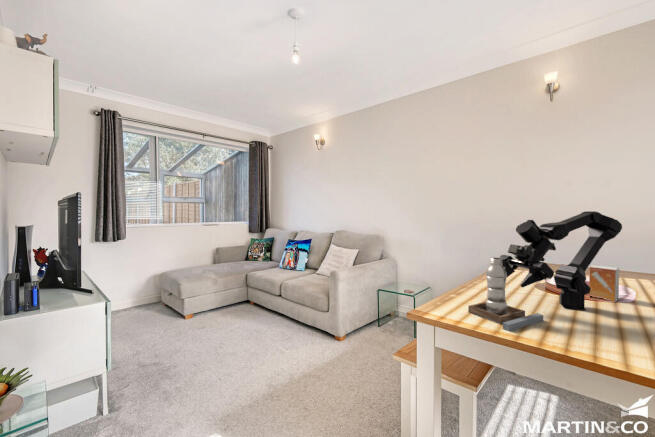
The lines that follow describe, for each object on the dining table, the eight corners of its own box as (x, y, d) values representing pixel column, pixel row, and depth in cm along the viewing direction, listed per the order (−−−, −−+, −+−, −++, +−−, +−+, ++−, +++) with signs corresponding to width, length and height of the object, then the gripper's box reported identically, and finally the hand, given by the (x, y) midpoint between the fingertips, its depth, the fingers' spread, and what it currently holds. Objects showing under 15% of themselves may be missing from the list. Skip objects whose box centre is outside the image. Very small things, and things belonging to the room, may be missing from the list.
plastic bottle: (506, 318, 98) (506, 260, 98) (484, 314, 102) (484, 258, 102) (508, 312, 103) (508, 257, 103) (487, 309, 107) (487, 256, 107)
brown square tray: (491, 306, 111) (491, 300, 111) (525, 317, 100) (525, 310, 100) (468, 312, 106) (468, 305, 106) (501, 324, 94) (501, 317, 94)
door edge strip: (536, 318, 99) (536, 313, 99) (543, 320, 97) (543, 314, 97) (502, 328, 91) (502, 322, 91) (509, 331, 89) (509, 324, 89)
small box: (588, 297, 120) (588, 266, 120) (592, 294, 124) (593, 264, 123) (615, 302, 114) (616, 269, 113) (619, 299, 117) (619, 267, 117)
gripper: (502, 234, 113) (478, 263, 111) (546, 239, 95) (518, 274, 93) (519, 253, 115) (495, 282, 113) (566, 261, 97) (539, 296, 95)
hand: (510, 283), depth 104 cm, fingers open, 9 cm apart
